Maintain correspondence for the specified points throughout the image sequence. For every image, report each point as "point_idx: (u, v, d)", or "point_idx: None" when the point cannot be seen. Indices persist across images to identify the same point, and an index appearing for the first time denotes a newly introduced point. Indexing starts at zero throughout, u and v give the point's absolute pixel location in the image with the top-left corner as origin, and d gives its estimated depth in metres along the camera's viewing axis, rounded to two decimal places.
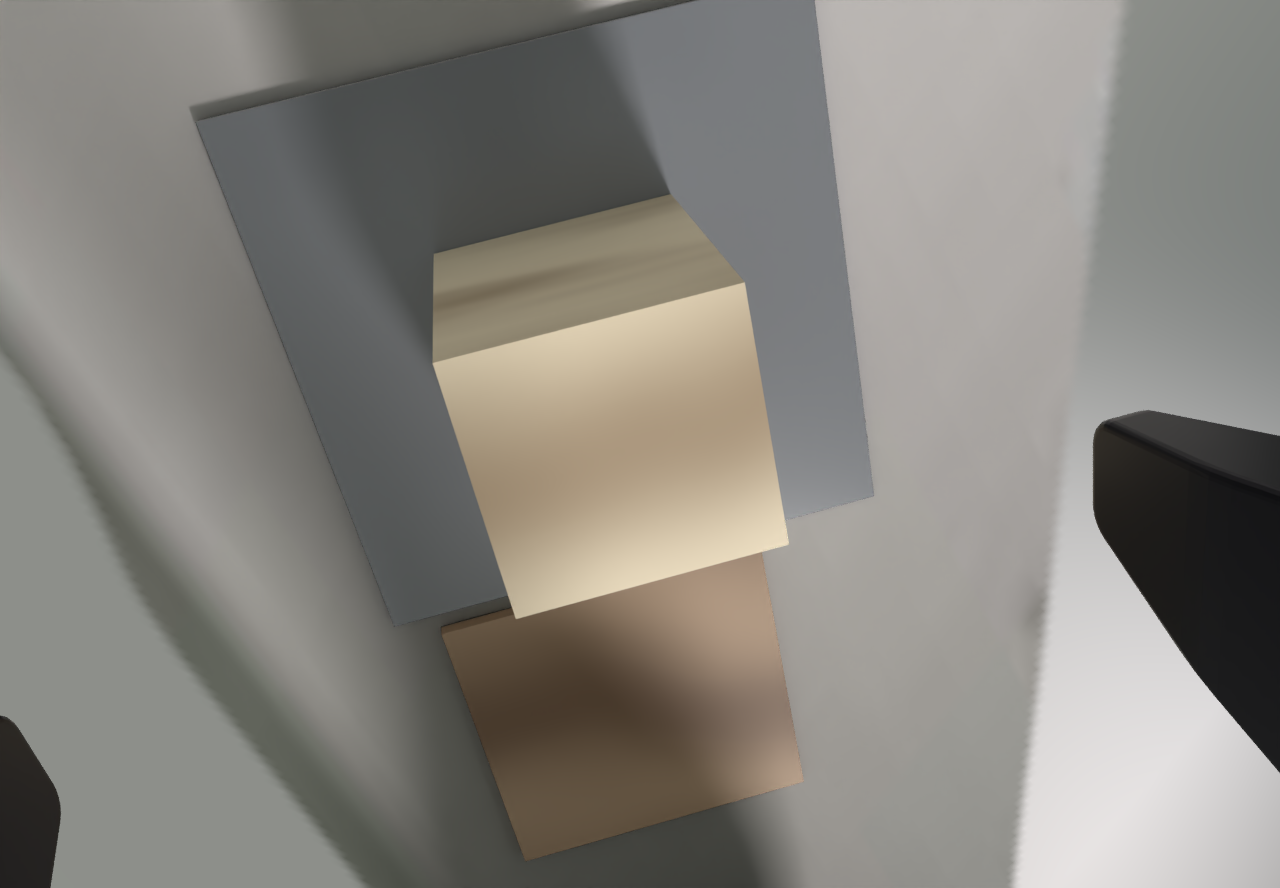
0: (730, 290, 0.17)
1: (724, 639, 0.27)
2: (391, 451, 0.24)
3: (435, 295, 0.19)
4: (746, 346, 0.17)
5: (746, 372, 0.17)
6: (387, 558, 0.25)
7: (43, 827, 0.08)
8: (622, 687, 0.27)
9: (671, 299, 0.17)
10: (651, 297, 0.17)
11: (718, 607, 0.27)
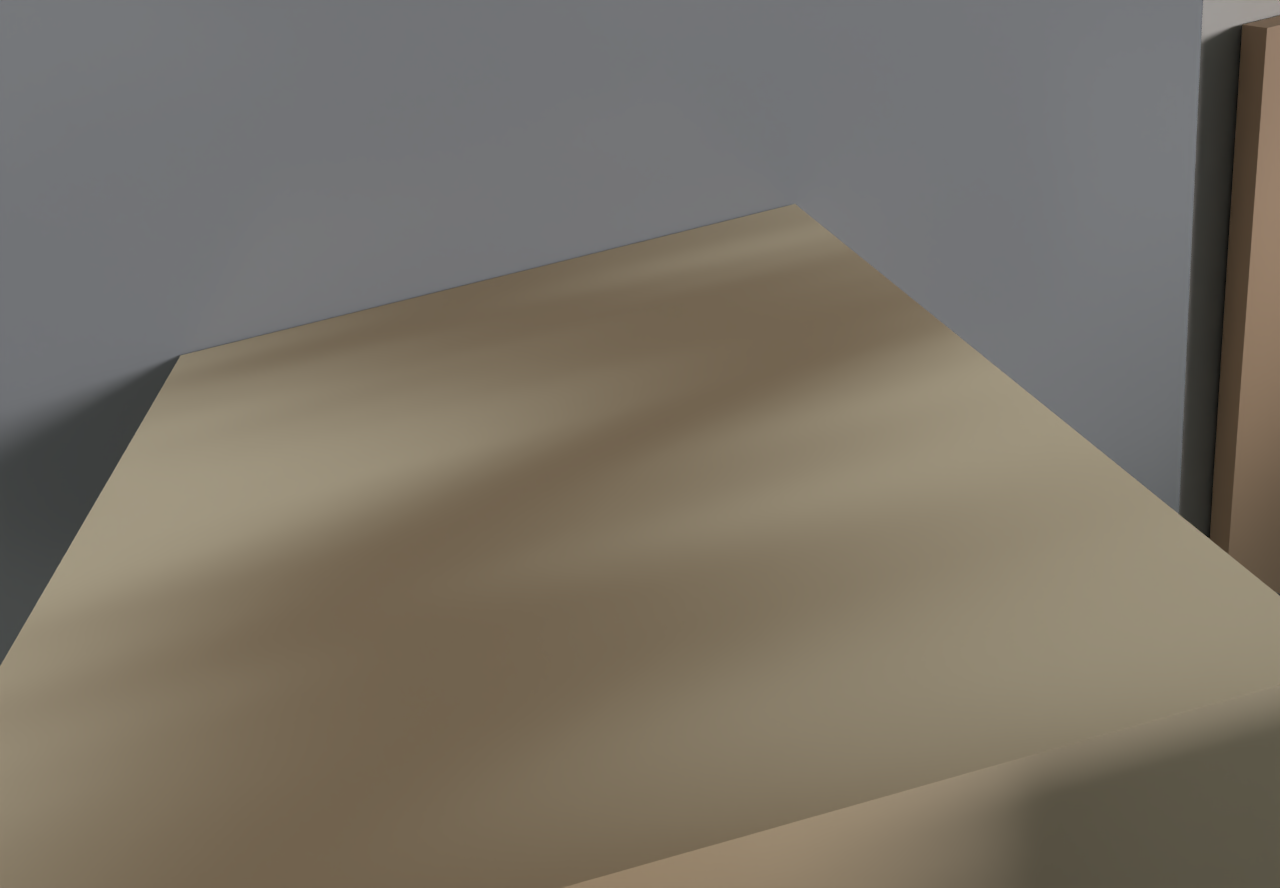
0: None
1: None
2: None
3: None
4: None
5: None
6: None
7: None
8: None
9: None
10: None
11: None
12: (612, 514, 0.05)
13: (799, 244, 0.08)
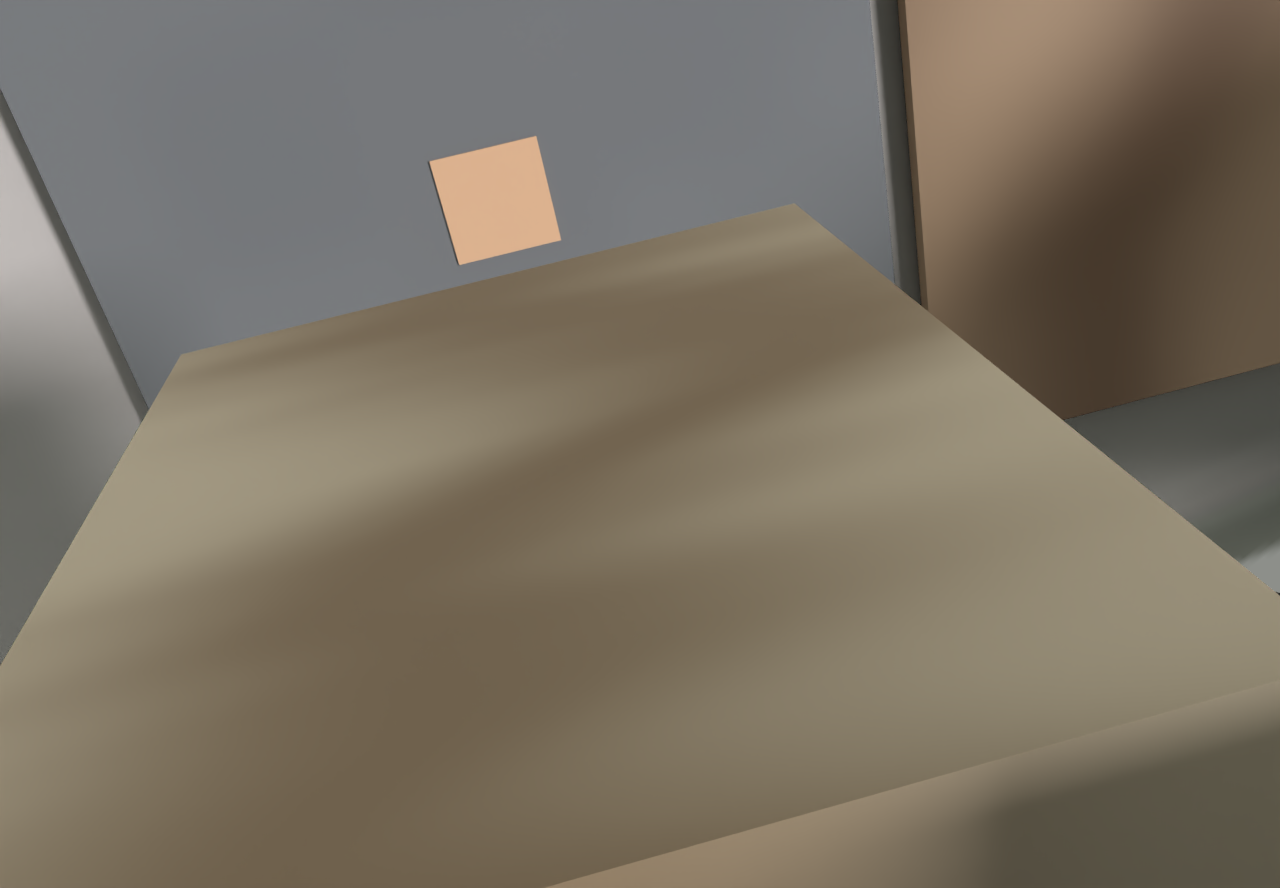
0: None
1: (1063, 33, 0.16)
2: None
3: None
4: None
5: None
6: None
7: None
8: (1101, 204, 0.18)
9: None
10: None
11: (999, 49, 0.16)
12: (610, 512, 0.05)
13: (799, 243, 0.08)
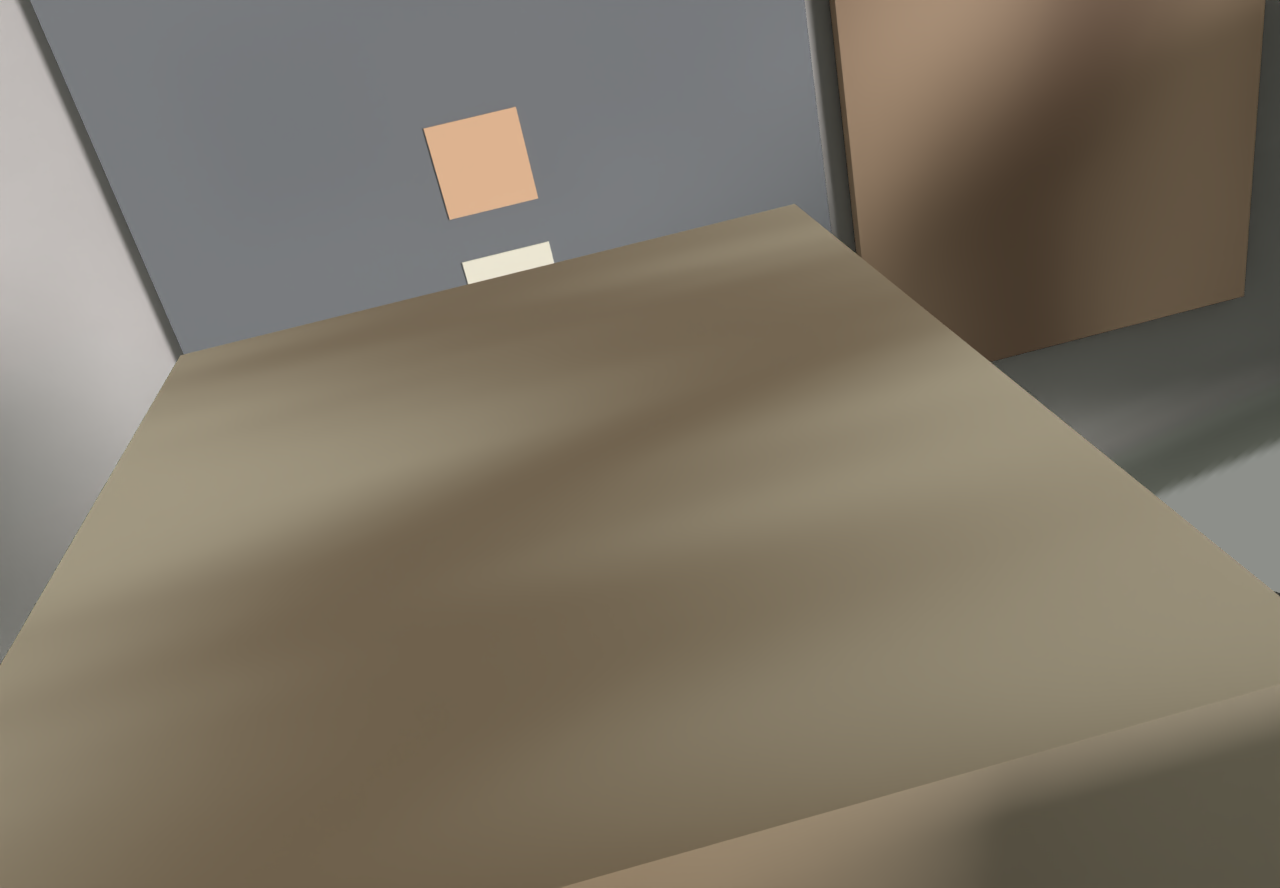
0: None
1: (973, 18, 0.19)
2: None
3: None
4: None
5: None
6: None
7: None
8: (1012, 170, 0.20)
9: None
10: None
11: (917, 33, 0.19)
12: (612, 514, 0.05)
13: (799, 244, 0.08)
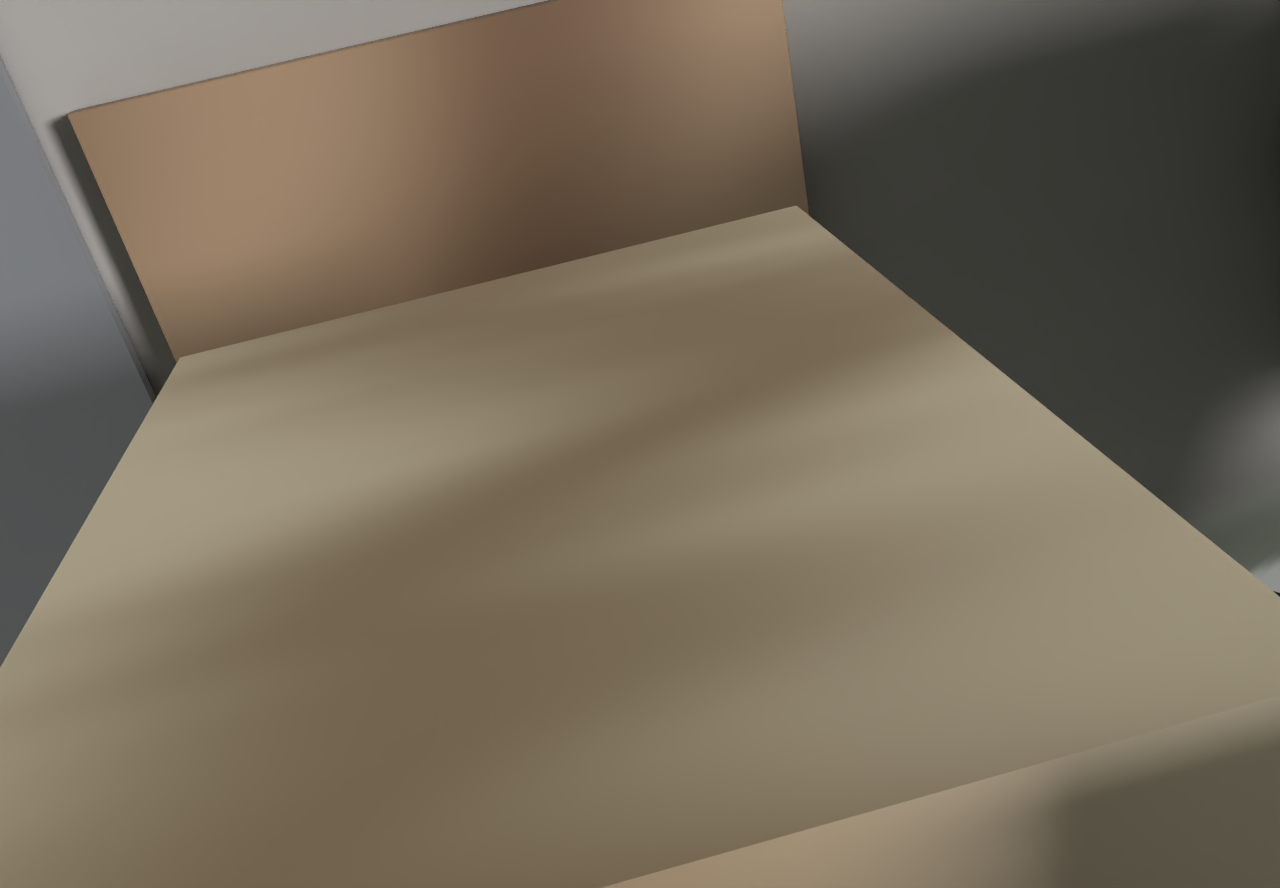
0: None
1: (328, 181, 0.12)
2: None
3: None
4: None
5: None
6: None
7: None
8: None
9: None
10: None
11: (241, 203, 0.12)
12: (612, 519, 0.05)
13: (801, 246, 0.08)
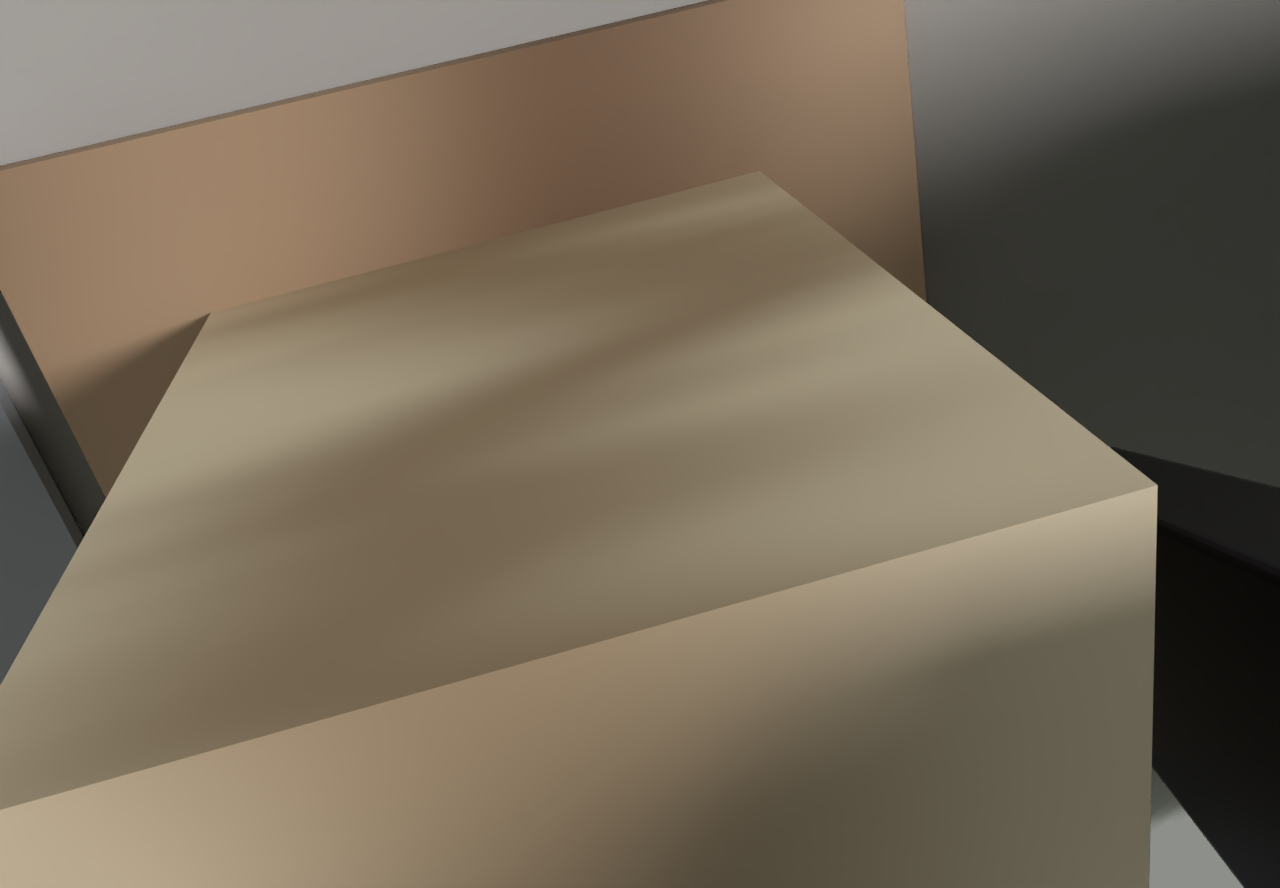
0: None
1: (303, 266, 0.09)
2: None
3: None
4: (206, 789, 0.04)
5: (328, 764, 0.04)
6: None
7: None
8: None
9: None
10: None
11: (186, 295, 0.09)
12: (586, 415, 0.06)
13: (759, 202, 0.09)
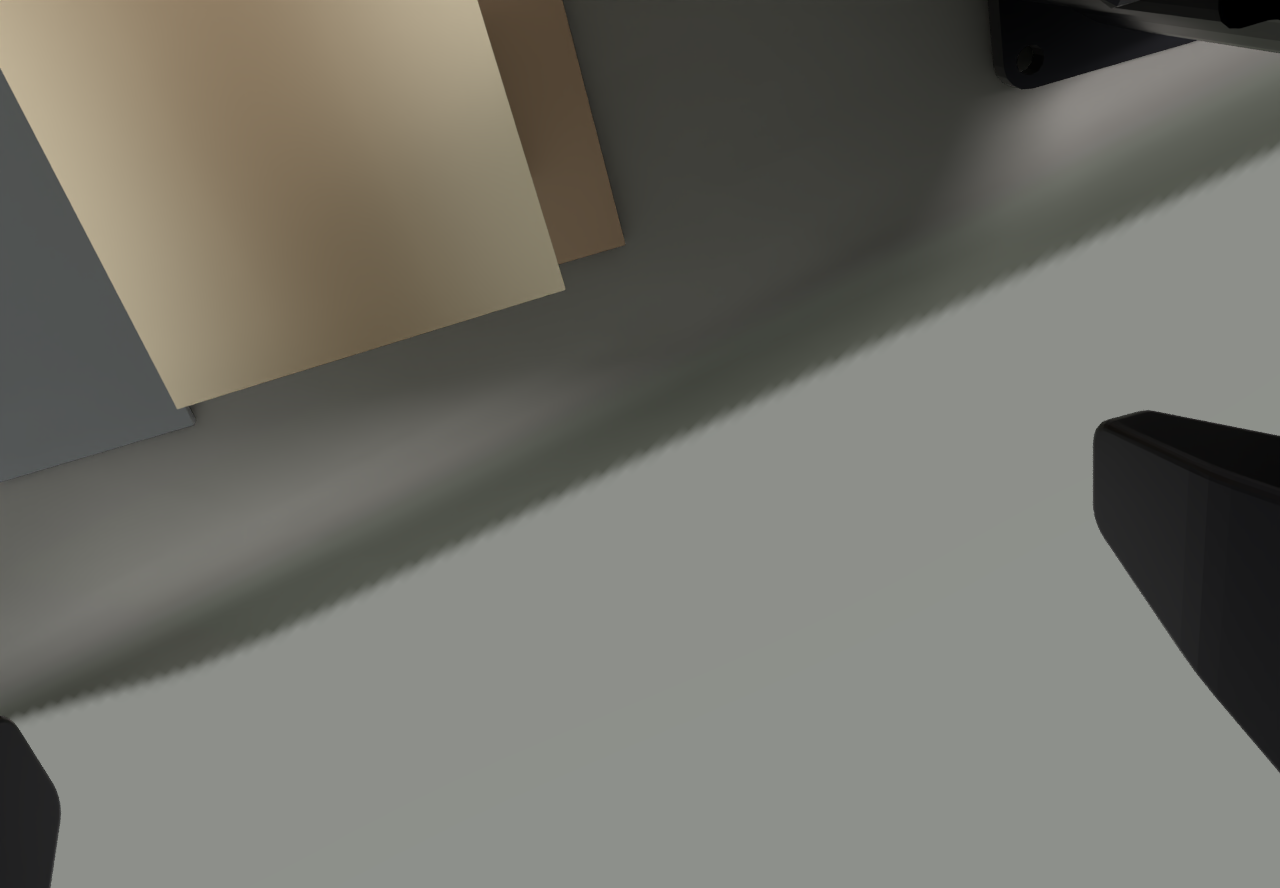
0: None
1: None
2: None
3: None
4: None
5: None
6: (84, 435, 0.19)
7: (43, 827, 0.08)
8: None
9: (18, 97, 0.11)
10: (40, 117, 0.12)
11: None
12: None
13: None
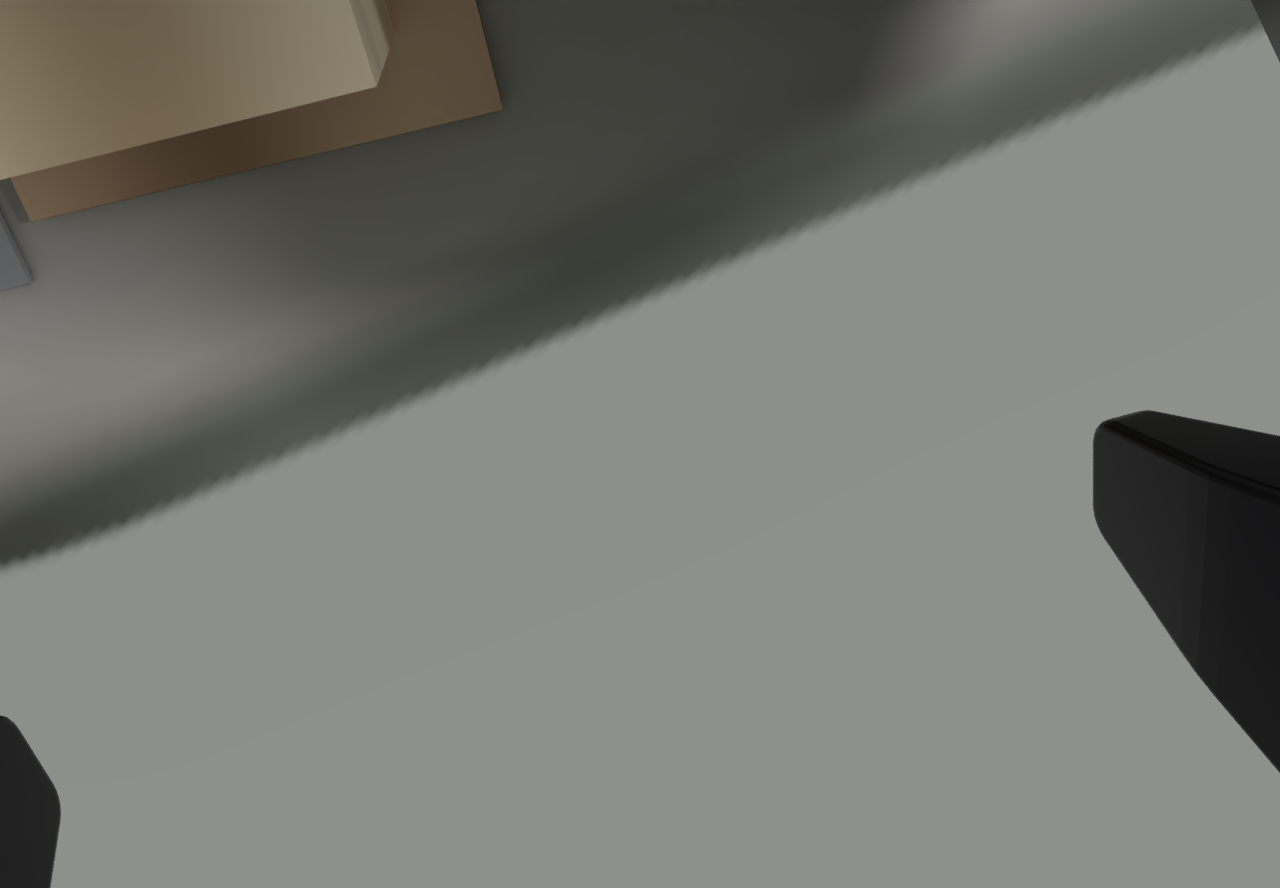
0: None
1: None
2: None
3: None
4: None
5: None
6: None
7: (42, 827, 0.08)
8: None
9: None
10: None
11: None
12: None
13: None
